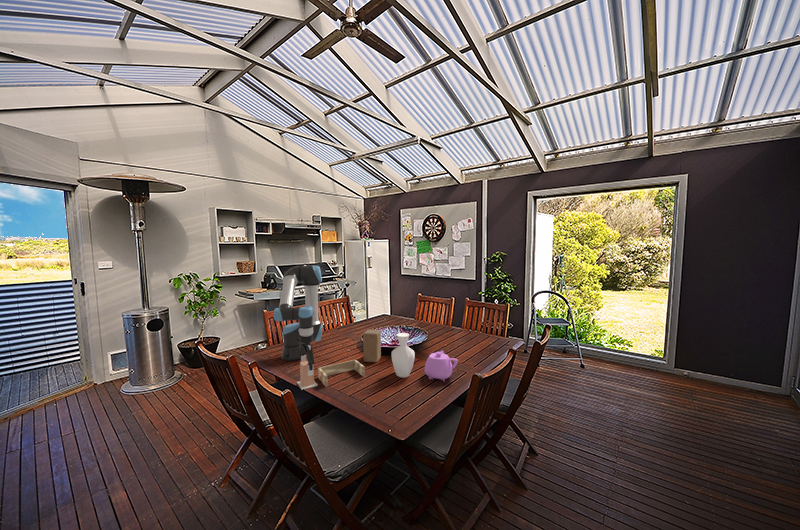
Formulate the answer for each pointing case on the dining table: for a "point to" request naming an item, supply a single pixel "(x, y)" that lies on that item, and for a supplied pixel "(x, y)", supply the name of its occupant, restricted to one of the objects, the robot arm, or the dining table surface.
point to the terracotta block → (305, 374)
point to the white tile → (307, 386)
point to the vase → (403, 356)
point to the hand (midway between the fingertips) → (307, 370)
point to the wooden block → (372, 345)
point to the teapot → (439, 365)
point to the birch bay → (339, 370)
